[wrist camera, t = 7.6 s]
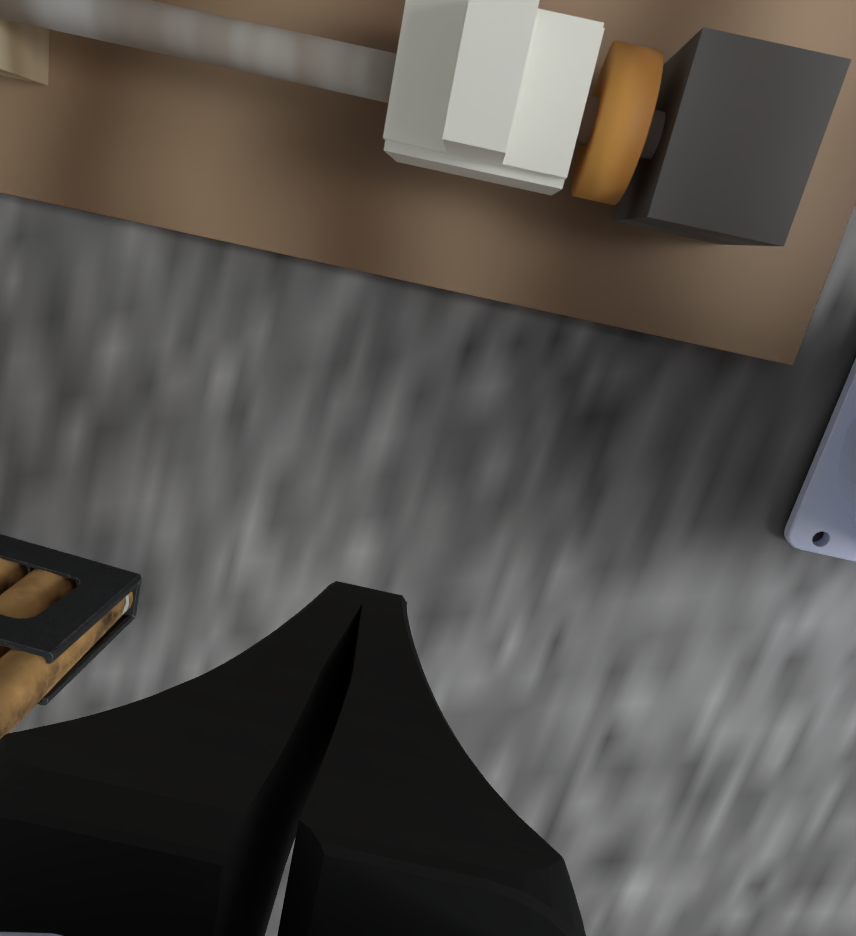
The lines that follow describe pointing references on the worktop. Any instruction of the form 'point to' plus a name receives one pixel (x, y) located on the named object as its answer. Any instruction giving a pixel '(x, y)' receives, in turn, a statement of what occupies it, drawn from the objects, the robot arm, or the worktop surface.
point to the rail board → (452, 196)
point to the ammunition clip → (54, 621)
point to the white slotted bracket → (491, 90)
